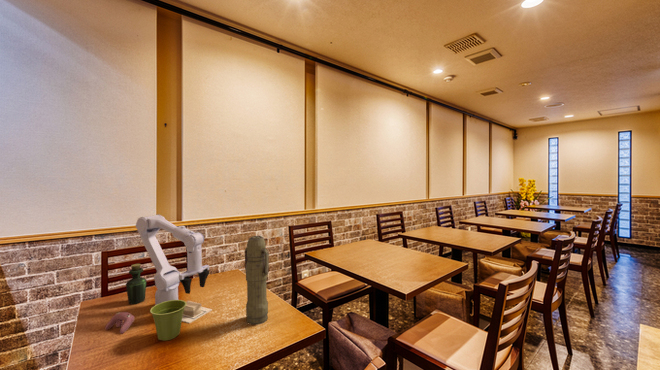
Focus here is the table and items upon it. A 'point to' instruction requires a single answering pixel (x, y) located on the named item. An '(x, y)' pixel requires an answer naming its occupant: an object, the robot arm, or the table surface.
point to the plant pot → (168, 318)
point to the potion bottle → (136, 286)
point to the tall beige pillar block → (192, 308)
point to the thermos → (256, 280)
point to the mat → (190, 319)
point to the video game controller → (121, 321)
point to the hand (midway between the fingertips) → (195, 289)
